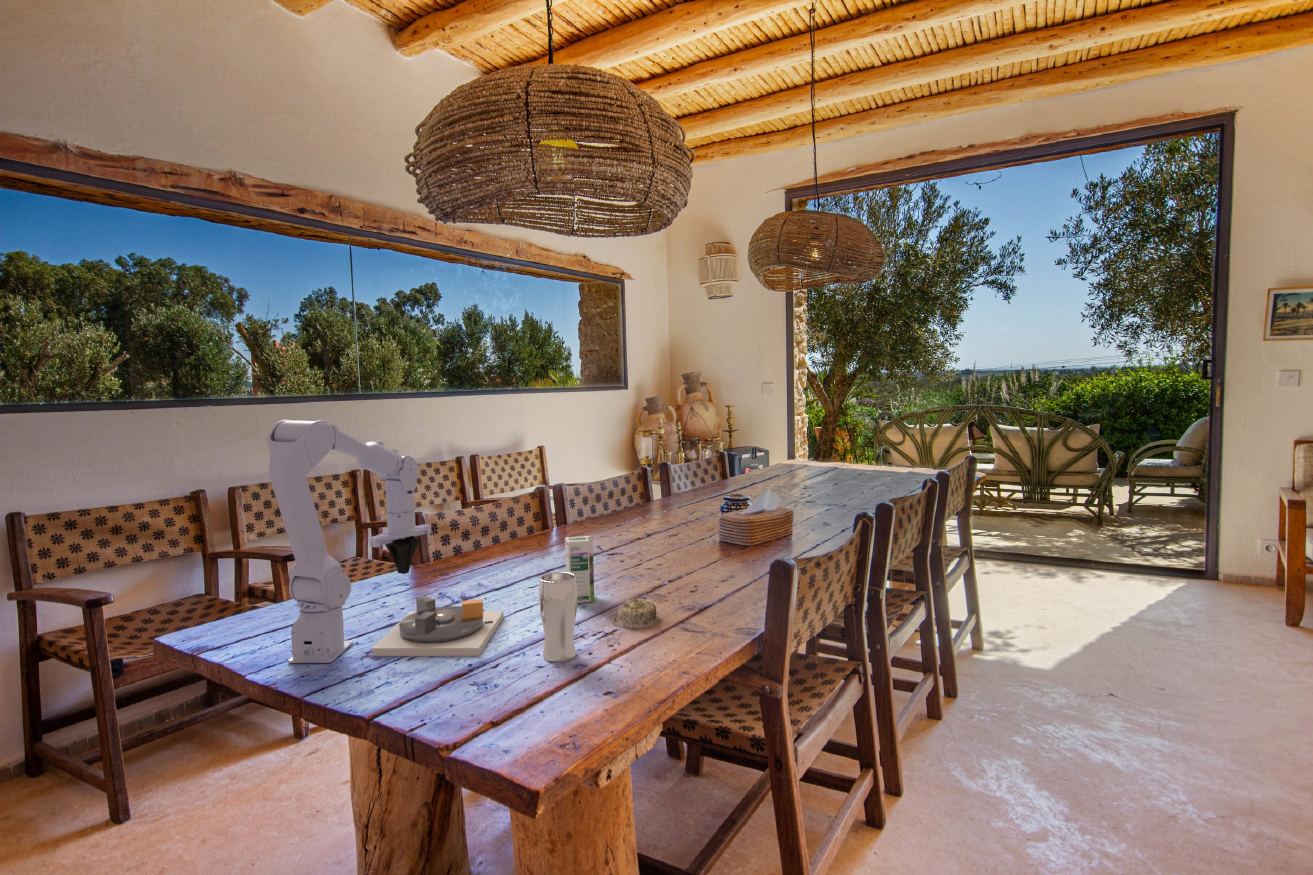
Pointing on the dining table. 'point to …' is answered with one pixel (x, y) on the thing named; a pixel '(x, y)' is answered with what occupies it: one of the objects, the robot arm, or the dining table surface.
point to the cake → (636, 614)
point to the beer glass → (558, 615)
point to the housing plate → (461, 647)
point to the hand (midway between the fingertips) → (403, 572)
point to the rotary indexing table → (441, 621)
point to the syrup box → (581, 565)
